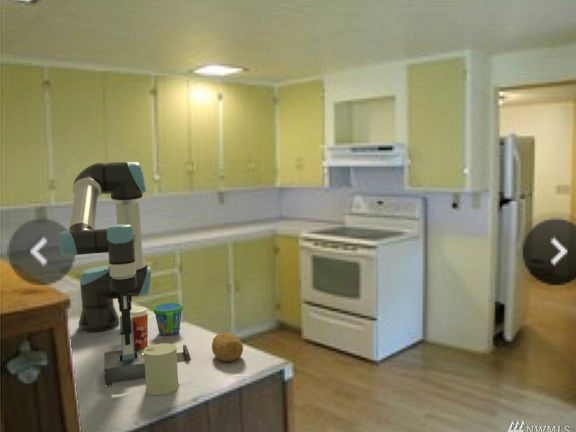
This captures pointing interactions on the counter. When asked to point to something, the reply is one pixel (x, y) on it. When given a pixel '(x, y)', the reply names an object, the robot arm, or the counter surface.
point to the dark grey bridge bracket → (183, 355)
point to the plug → (132, 356)
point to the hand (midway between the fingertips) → (128, 351)
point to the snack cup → (168, 318)
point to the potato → (227, 347)
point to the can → (161, 369)
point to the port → (123, 366)
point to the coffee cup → (140, 326)
